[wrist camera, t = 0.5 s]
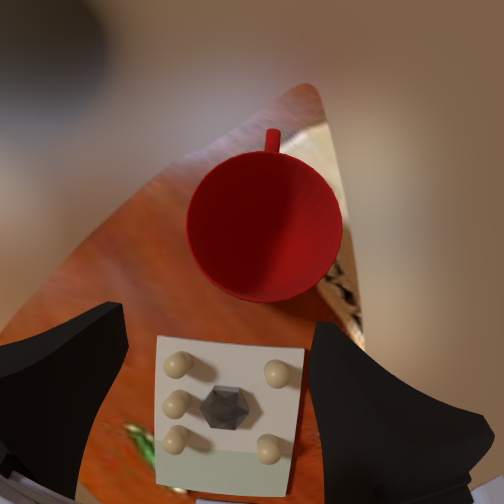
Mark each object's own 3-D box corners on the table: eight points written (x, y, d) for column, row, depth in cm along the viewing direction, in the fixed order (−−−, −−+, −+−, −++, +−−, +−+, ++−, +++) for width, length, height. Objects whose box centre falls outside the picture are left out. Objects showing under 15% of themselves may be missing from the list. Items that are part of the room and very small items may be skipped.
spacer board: (284, 492, 29) (288, 511, 24) (158, 479, 29) (148, 497, 24) (302, 347, 32) (311, 353, 28) (159, 334, 32) (147, 338, 28)
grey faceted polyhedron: (254, 416, 30) (254, 422, 28) (217, 430, 29) (216, 437, 27) (233, 377, 31) (232, 381, 29) (196, 392, 30) (193, 397, 28)
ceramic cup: (321, 169, 36) (343, 125, 26) (312, 309, 33) (337, 310, 23) (216, 157, 36) (206, 110, 26) (195, 296, 33) (174, 292, 23)
